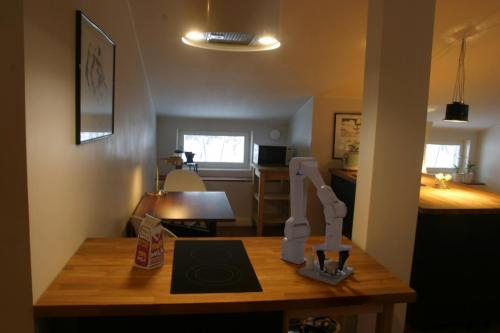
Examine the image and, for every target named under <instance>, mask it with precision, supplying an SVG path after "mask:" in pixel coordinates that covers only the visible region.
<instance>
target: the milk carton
mask: <svg viewBox="0 0 500 333" xmlns="http://www.w3.org/2000/svg"><path fill="white" fill-rule="evenodd" d="M161 221H162V219H159V218H156V217H153V216H152V215H149V213H145V217H144V219H143V220H142V221H141V222H140V225H139V230H138V235H137V239H136V240H137V241H136V246H135V252H134V257H133V263H132V264H133V265H132V266H133V267H136V268H140V269H143V270H147V271H150V270H152V269H155V268H159V267H161V266H163V264H165V263H166V262H165V243H164V242H165V241H164V231H163V224H162V223H161Z"/></svg>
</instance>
